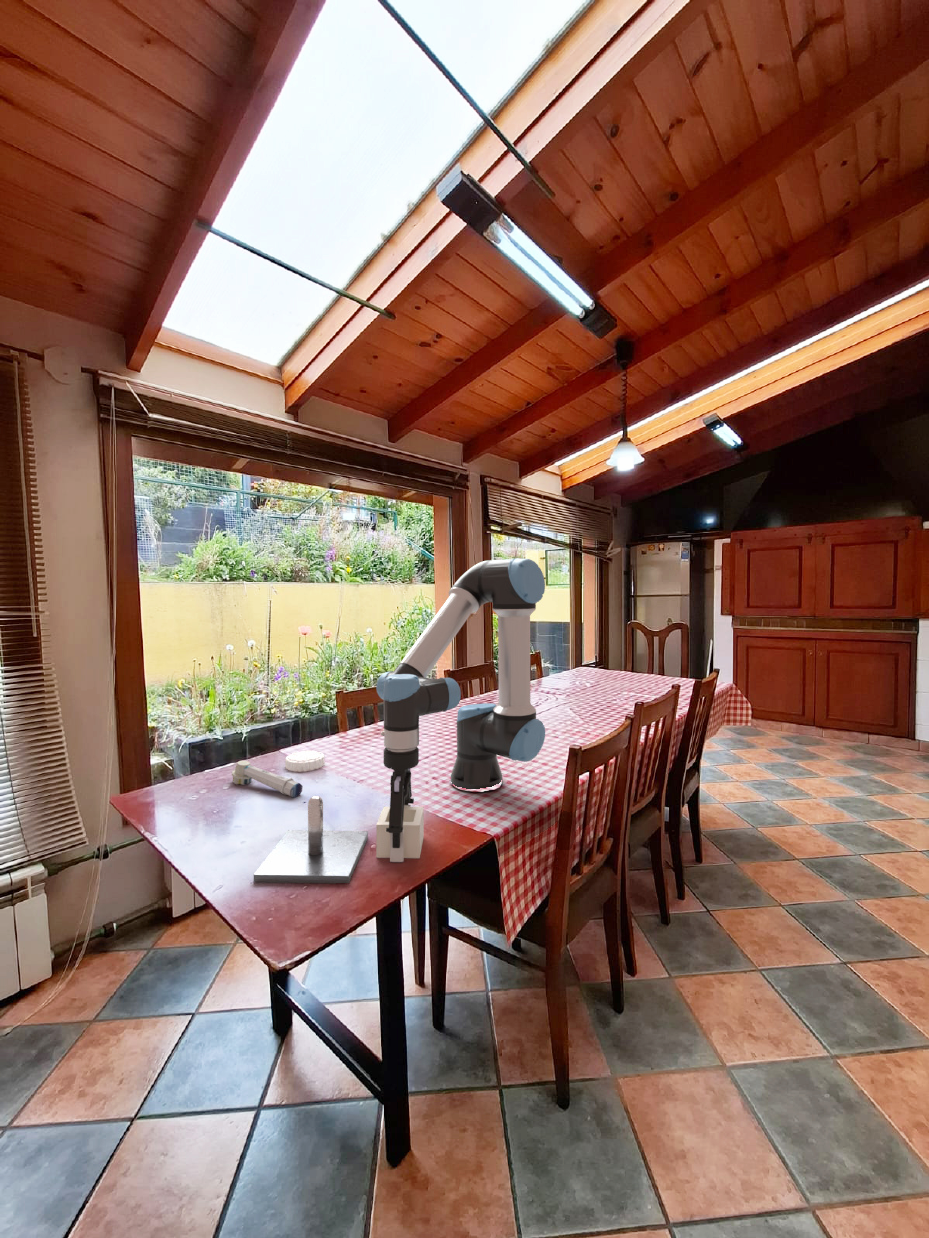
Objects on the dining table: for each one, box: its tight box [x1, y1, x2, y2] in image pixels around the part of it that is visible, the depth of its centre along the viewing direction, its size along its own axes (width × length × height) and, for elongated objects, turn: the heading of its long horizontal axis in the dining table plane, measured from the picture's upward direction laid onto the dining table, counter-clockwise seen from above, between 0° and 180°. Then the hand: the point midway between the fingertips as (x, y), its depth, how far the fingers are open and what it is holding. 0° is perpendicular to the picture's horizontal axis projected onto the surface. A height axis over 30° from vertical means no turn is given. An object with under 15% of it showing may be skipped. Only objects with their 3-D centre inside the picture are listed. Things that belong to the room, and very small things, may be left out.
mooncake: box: [284, 750, 325, 773], centre depth 160 cm, size 12×12×4 cm
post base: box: [253, 795, 369, 884], centre depth 103 cm, size 18×18×13 cm
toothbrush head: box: [231, 760, 304, 798], centre depth 141 cm, size 5×7×25 cm
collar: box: [375, 806, 425, 859], centre depth 108 cm, size 9×9×7 cm
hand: (400, 846), depth 108 cm, fingers open, 11 cm apart
